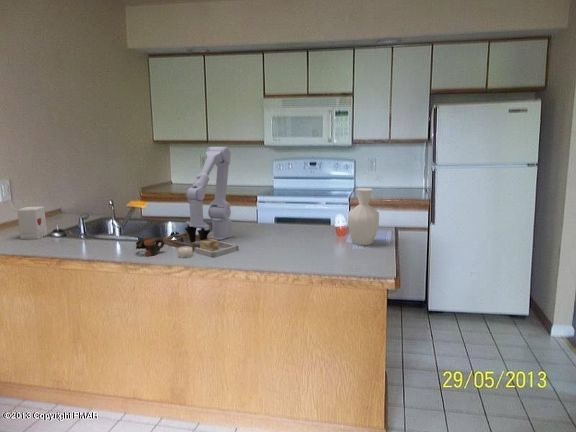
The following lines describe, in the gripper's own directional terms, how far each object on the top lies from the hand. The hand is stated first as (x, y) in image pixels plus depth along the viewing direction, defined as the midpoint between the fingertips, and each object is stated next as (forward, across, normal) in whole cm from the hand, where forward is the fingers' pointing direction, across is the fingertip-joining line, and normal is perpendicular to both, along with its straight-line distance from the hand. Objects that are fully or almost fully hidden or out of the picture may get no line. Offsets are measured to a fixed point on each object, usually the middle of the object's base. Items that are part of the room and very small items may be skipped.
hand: (198, 243), depth 207 cm
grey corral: (+1, +13, 0) cm, 13 cm away
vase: (+2, +56, +51) cm, 76 cm away
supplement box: (+2, -79, -40) cm, 89 cm away
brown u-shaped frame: (+1, -6, 0) cm, 7 cm away
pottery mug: (+2, -7, -20) cm, 21 cm away
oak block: (+1, +8, 0) cm, 8 cm away
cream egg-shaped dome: (+2, +8, -13) cm, 15 cm away
